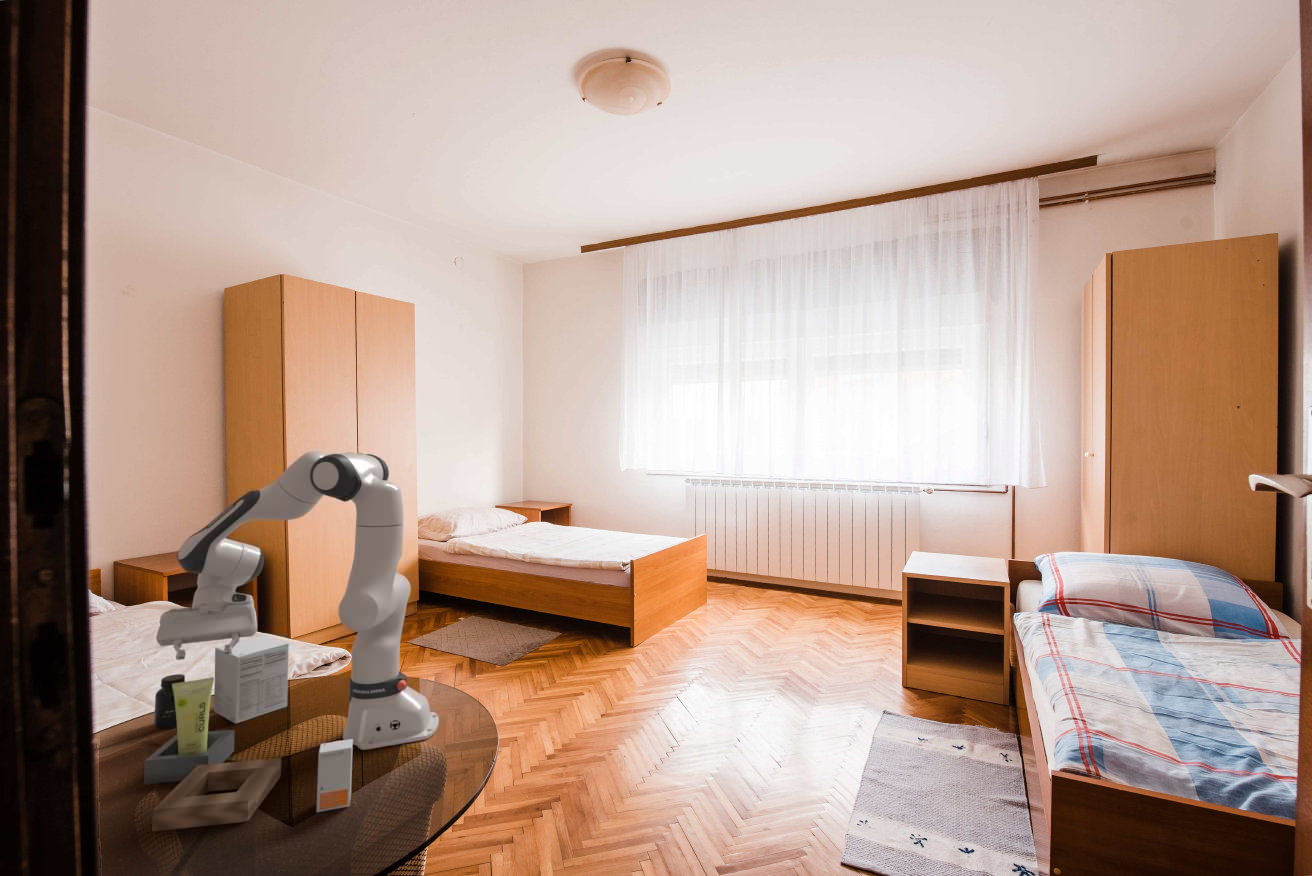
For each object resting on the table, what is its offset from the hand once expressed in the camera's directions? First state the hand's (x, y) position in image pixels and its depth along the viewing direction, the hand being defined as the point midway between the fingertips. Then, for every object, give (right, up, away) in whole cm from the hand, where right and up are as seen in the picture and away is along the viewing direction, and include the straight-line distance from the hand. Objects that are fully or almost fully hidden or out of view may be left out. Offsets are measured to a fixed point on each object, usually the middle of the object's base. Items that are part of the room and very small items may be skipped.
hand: (204, 655), depth 146 cm
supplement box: (-1, -22, +18) cm, 28 cm away
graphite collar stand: (+5, -21, -11) cm, 24 cm away
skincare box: (+45, -22, -24) cm, 55 cm away
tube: (+5, -21, -11) cm, 25 cm away
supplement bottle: (-15, -21, +9) cm, 28 cm away
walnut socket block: (+21, -21, -24) cm, 38 cm away
